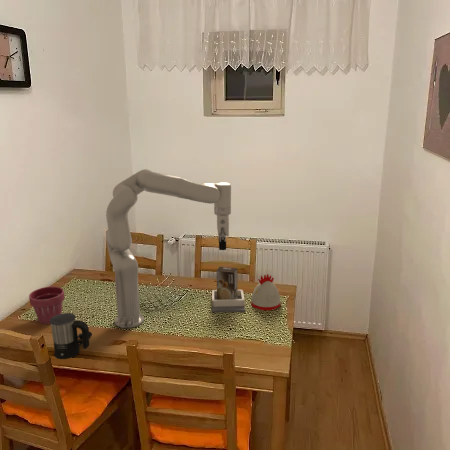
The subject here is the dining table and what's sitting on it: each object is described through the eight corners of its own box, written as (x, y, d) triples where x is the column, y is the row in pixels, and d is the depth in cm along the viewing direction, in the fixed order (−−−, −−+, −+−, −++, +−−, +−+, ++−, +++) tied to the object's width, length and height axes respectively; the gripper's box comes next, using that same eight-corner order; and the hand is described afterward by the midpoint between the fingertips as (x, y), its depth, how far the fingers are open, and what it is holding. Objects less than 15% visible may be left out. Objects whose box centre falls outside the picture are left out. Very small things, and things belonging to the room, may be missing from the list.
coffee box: (238, 299, 215) (238, 267, 211) (235, 304, 209) (235, 272, 205) (220, 297, 218) (219, 266, 213) (216, 302, 212) (215, 270, 207)
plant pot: (36, 330, 189) (32, 302, 186) (29, 317, 201) (26, 291, 197) (70, 321, 197) (67, 294, 194) (62, 309, 208) (59, 283, 205)
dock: (245, 311, 204) (245, 303, 203) (212, 312, 204) (212, 304, 203) (242, 293, 224) (242, 286, 223) (212, 294, 223) (212, 286, 222)
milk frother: (52, 361, 166) (48, 325, 162) (56, 340, 181) (52, 307, 177) (92, 356, 170) (88, 320, 166) (93, 335, 185) (89, 302, 181)
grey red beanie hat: (246, 301, 215) (246, 272, 211) (270, 295, 221) (270, 267, 217) (261, 312, 203) (261, 282, 199) (286, 306, 210) (287, 276, 206)
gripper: (231, 215, 193) (231, 252, 197) (230, 206, 210) (229, 240, 214) (214, 215, 193) (214, 252, 197) (214, 206, 209) (214, 241, 214)
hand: (222, 246), depth 206 cm, fingers open, 9 cm apart
